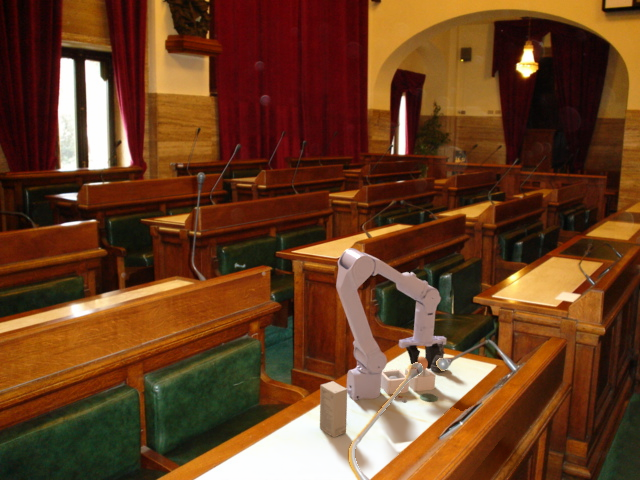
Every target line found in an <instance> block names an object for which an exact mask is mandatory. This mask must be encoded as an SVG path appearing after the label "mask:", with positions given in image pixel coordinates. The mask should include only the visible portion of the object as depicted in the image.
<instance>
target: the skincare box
mask: <svg viewBox="0 0 640 480" xmlns="http://www.w3.org/2000/svg"><path fill="white" fill-rule="evenodd" d="M319 387H320V388H319V389H320V397H319V399H320V400H319V401H320V402H319V403H320V404H319V428H320V429H321V430H322V431H324V432H325V433H326V434H328V435H330V437H331V436H332V437H333V438H335V437H338V436H340V435H343V434H346V433H347V414H348V413H347V411H348V393H347V387H345V386H342V385H341V384H339V383H337V382H335V381H334V380H332V381H329V382H325V383H322V384H320V386H319Z"/></svg>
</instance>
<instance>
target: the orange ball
mask: <svg viewBox="0 0 640 480" xmlns="http://www.w3.org/2000/svg"><path fill="white" fill-rule="evenodd" d="M418 363H421V364H422V366H423V370H425V369H426V368H427V366H428V361H427V359H426V358H425V356H419V357H418Z"/></svg>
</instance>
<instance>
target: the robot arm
mask: <svg viewBox="0 0 640 480" xmlns="http://www.w3.org/2000/svg"><path fill="white" fill-rule="evenodd" d="M337 266H338V271H337V277H336V285H335V287H336V291H337V293H338V297H339V299H340V302H341V305H342V308H343V311H344V313H345V316H346V319H347V321H348V325H349V327H350V331H351V334H352V337H353V338H354V341H353V342H352V345H353V348H354V349H353V357H354V358H355V360H356V367H355V368H353V369H349V370H348V371H347V375H346V389H347V396H349V397H350V398H351V399H352V401H359V400H363V399H371V400H372V399H377V398H378V397H380V396H381V389H382V388H381V376H382V371H384V369H386V366H387V363H388V359H387V356H386V354H385V353H384V352H382V351H381V348H380V346H379V344H378V342H377V341H376V340H375V338H374V337H373V333H372V330H371V327H370V324H369V321H368V318H367V315H366V313H365V310H364V306H363V304H362V301H361V297H360V294H359V292H358V290H359V288H360V287H361V285H363V283H365V281H367V279H369V278H370V276H373V277H374V276H376V275H381V276H382V277H384V278H386V279H388V280H389V281H391V282H393V283H394V284H395V286H396V290H397V291H399V292H401V293H403V294H404V295H406V296H407V297H410V298H411V299H413V300H414V301H415V312H414V324H413V326H414V327H413V334H412V335H413V336H411V337H406V338H403V339H399V340H398V347H399V348H400V349H406V351H407V354H408V357H409V360H410V361H409V362H410V365H411V364H413V363H415V362H418V357H420V354H421V351H420V350H419V348H418V347H423V346H424V351H425V352H424V353H425V356H424V358H426V359H427V361H428V366H427V369H429V370H431V368H430V367H431V364H432V362H433V360H434V358H435V356H436V354H437V353H438V352H439V350H440V347H439V346H438V344H443V345H444V346H445V345H447V337H445V335H442V336H441V335H434V333H435V331H434V330H435V320H436V311H437V307H438V305H439V304H440V302H441V300H442V297H441V295H440V292H439V290H438V289H437V288H436V287H433V286H431V285H429V282H428V281H426V280H422V279H419V278H418V277H417V274H415V273H414V272H413V271H411V272H410V273H409V272H408V271H406V272H402V273H401V272H400V271H398V270H397V269H395V268H393V267H392V266H390V265H389V264H388V263H386V262H384V261H383V260H382V259H381V260H380V259H379V258H377V257H375V256H373V255H371V254H368V253H366V252H363V251H359V250H358V249H357V248H352V247H351V248H350V247H349V248H346V249H345V250H344V251H343V252H342V254H341V255H340V256H339V259H338V260H337Z"/></svg>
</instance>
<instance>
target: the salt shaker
mask: <svg viewBox="0 0 640 480" xmlns="http://www.w3.org/2000/svg"><path fill="white" fill-rule="evenodd" d="M438 346H439V347H440V350H439V352H438V353H437V354H436V356H435V358H434V360H433V362H432V364H431V367H430V371H431V372H432V371H433V372H435V373H442V372H444V371H441V370H440V369H439V368H438V367H437V365H436V361H437V360H438V359H439V358H443V359H444V356H445V354H446V352H445V345H443V344H438Z"/></svg>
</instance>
